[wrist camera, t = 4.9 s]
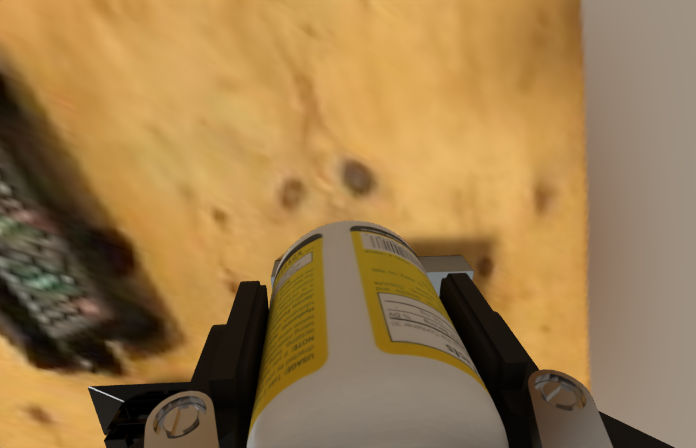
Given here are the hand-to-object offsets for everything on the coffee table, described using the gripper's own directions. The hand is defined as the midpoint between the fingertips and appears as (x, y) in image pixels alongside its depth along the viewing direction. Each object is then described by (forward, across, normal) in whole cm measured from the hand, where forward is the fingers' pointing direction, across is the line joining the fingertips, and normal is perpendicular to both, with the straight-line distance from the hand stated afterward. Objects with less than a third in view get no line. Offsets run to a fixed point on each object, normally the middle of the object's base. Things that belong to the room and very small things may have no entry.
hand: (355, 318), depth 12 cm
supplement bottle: (+2, 0, 0) cm, 2 cm away
